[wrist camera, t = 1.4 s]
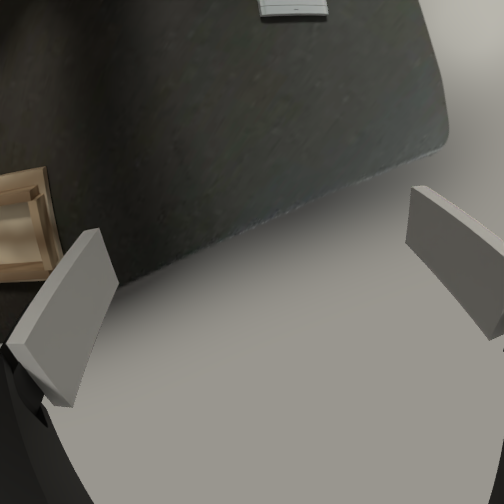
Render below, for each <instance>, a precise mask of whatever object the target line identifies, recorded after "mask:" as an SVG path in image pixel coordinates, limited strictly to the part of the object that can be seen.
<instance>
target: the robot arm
mask: <svg viewBox="0 0 504 504" xmlns="http://www.w3.org/2000/svg"><path fill="white" fill-rule="evenodd" d="M405 243H406V244H407V245H408V246H409V247H410V248H411V249H412V250H413V251H414V252H415V253H416V255H417V256H418V257H419V258H420V259H421V260H422V261H423V262H424V263H425V264H426V265H427V266H428V268H430V270H431V271H432V272H433V273H434V274H435V275H436V276H437V278H438V279H439V280H440V281H441V282H442V283H443V284H444V286H445V287H446V288H447V289H448V290H449V291H450V292H451V294H452V295H453V296H454V297H455V298H456V300H457V301H458V302H459V303H460V304H461V306H462V307H463V308H464V309H465V310H466V312H467V313H468V314H469V315H470V317H471V318H472V319H473V320H474V322H475V323H476V324H477V325H478V327H479V328H480V329H481V330H482V332H483V333H484V334H485V336H486V337H487V338H488V340H489V341H490V340H492V339H494V338H496V337H499V336H501V335H503V334H504V241H503V240H502V239H500V238H499V237H498V236H496V235H495V234H494V233H492V232H491V231H490V230H488V229H487V228H486V227H485V226H483V225H482V224H481V223H479V222H478V221H476V220H475V219H474V218H473V217H471V216H470V215H468V214H467V213H466V212H464V211H463V210H461V209H460V208H458V207H457V206H455V205H454V204H453V203H451V202H450V201H448V200H447V199H445V198H444V197H442V196H440V195H439V194H438V193H436V192H435V191H433V190H431V189H430V188H428V187H427V186H412V187H411V198H410V208H409V218H408V226H407V235H406V242H405ZM118 284H119V282H118V279H117V277H116V274H115V271H114V269H113V266H112V263H111V261H110V258H109V255H108V252H107V249H106V247H105V244H104V241H103V238H102V235H101V232H100V229H99V228H96V229H90V230H85V231H83V233H82V234H81V235H80V236H79V237H78V239H77V240H76V241H75V243H74V244H73V245H72V246H71V248H70V249H69V250H68V252H67V253H66V254H65V255H64V257H63V258H62V259H61V261H60V262H59V263H58V265H57V266H56V268H55V269H54V270H53V272H52V273H51V274H50V276H49V277H48V279H47V280H46V281H45V283H44V284H43V286H42V287H41V289H40V290H39V292H38V293H37V295H36V296H35V298H34V299H33V300H32V301H31V302H30V303H28V304H27V306H26V307H25V309H24V310H23V312H22V313H21V317H19V318H18V320H17V321H16V325H14V326H13V328H12V329H11V331H10V333H9V334H8V336H7V338H6V339H5V341H4V343H3V344H2V346H1V348H0V504H94V503H93V501H92V500H91V498H90V497H89V495H88V493H87V491H86V490H85V488H84V486H83V484H82V483H81V481H80V479H79V477H78V476H77V474H76V472H75V470H74V468H73V466H72V464H71V462H70V460H69V458H68V456H67V454H66V452H65V450H64V448H63V446H62V444H61V442H60V440H59V437H58V435H57V433H56V431H55V428H54V426H53V424H52V421H51V419H50V416H49V414H48V411H47V409H46V408H45V407H44V405H43V404H42V403H41V402H42V399H43V396H44V395H45V396H46V397H47V398H48V399H49V400H50V402H51V403H52V404H53V405H54V406H62V407H73V405H74V402H75V398H76V395H77V392H78V389H79V386H80V383H81V379H82V377H83V374H84V371H85V368H86V365H87V362H88V360H89V357H90V354H91V351H92V348H93V346H94V343H95V341H96V338H97V335H98V333H99V330H100V327H101V325H102V322H103V320H104V318H105V315H106V313H107V310H108V308H109V305H110V303H111V300H112V298H113V296H114V293H115V291H116V289H117V286H118ZM503 352H504V350H503ZM488 504H504V441H503V446H502V452H501V457H500V461H499V466H498V470H497V474H496V478H495V482H494V486H493V490H492V493H491V496H490V500H489V503H488Z"/></svg>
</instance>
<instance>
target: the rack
mask: <svg viewBox="0 0 504 504" xmlns="http://www.w3.org/2000/svg"><path fill="white" fill-rule="evenodd" d="M63 257H64V256H63V252H62V248H61V244H60V240H59V235H58V231H57V226H56V221H55V217H54V211H53V206H52V201H51V195H50V189H49V182H48V176H47V168H46V166H45V167H39V168H33V169H28V170H23V171H18V172H13V173H8V174H3V175H0V283H8V282H28V281H46V280H47V279H48V277H49V276H50V274H51V273H52V272H53V270H54V269H55V268H56V266H57V265H58V263H59V262H60V261H61V259H62V258H63Z"/></svg>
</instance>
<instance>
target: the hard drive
mask: <svg viewBox="0 0 504 504" xmlns="http://www.w3.org/2000/svg"><path fill="white" fill-rule="evenodd" d="M257 2H258V8H259V13H260V17H268V16H295V15H317V16H327V15H329V13H328V8H327V2H326V0H257Z"/></svg>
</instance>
